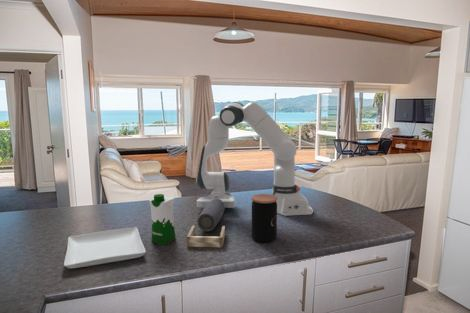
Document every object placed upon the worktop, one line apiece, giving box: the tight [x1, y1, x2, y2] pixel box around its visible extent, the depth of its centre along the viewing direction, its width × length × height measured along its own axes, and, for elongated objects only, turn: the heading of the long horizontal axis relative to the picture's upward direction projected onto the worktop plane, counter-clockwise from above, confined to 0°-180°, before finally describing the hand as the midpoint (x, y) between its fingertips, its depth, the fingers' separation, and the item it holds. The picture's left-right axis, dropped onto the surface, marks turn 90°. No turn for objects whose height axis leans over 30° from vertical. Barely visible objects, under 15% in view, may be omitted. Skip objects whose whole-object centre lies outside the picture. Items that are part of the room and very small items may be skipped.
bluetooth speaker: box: [196, 199, 225, 232], centre depth 153 cm, size 23×9×10 cm, turn 171°
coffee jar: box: [251, 193, 278, 244], centre depth 137 cm, size 11×11×18 cm
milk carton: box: [148, 193, 176, 246], centre depth 135 cm, size 9×9×20 cm
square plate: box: [63, 226, 147, 269], centre depth 126 cm, size 27×27×4 cm
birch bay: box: [186, 225, 226, 248], centre depth 136 cm, size 14×13×4 cm
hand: (214, 207), depth 165 cm, fingers closed
